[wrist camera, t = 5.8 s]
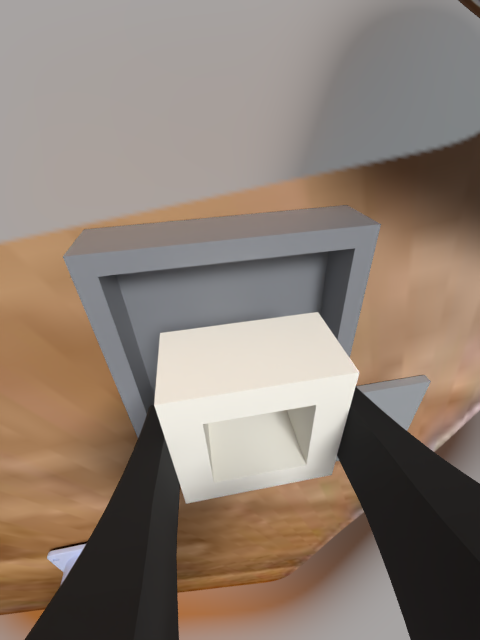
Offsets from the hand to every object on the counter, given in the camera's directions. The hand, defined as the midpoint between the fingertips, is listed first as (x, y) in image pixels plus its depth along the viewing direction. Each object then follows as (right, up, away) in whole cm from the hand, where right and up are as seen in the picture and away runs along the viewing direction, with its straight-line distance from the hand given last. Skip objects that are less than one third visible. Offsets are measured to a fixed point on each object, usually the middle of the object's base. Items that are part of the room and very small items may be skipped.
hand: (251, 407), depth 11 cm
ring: (0, +1, +1) cm, 1 cm away
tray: (-1, +3, +4) cm, 5 cm away
